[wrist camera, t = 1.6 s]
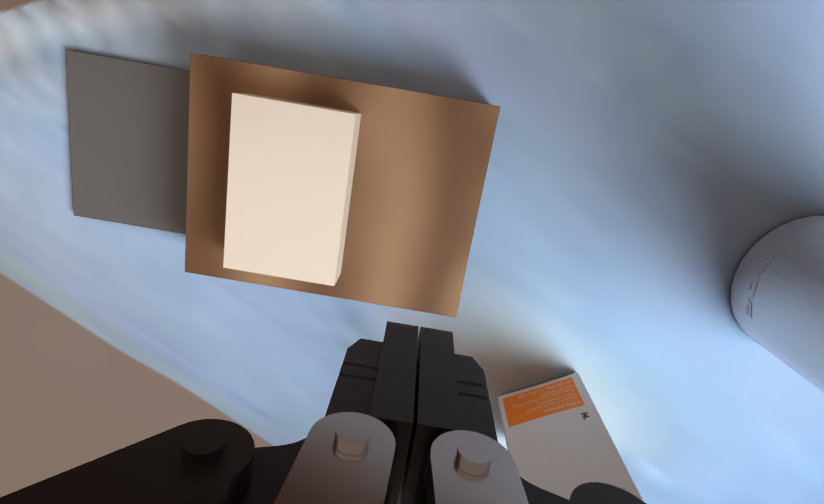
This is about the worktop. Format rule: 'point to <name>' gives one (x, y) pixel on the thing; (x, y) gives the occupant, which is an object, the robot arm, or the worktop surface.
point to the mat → (128, 141)
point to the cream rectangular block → (289, 187)
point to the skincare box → (561, 438)
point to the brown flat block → (355, 182)
